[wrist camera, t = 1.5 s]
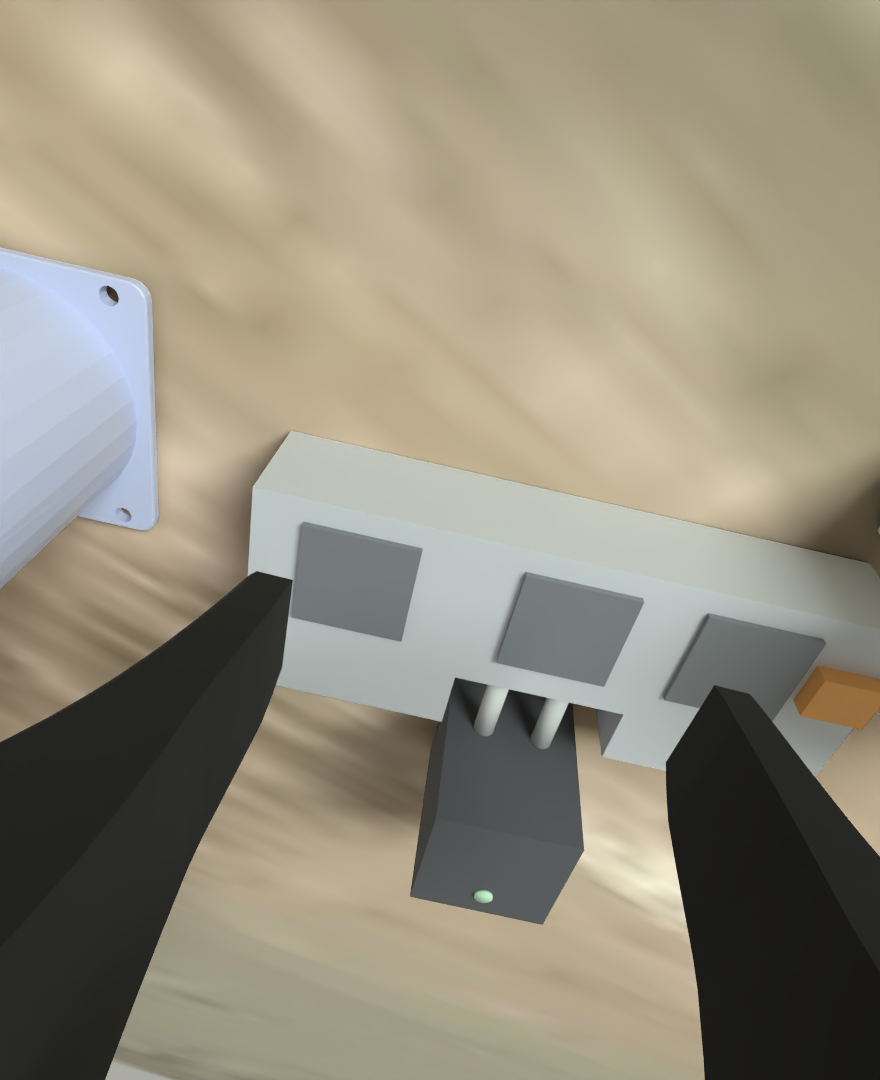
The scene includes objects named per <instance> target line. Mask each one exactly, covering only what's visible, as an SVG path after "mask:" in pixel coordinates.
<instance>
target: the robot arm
mask: <svg viewBox="0 0 880 1080" xmlns="http://www.w3.org/2000/svg"><path fill="white" fill-rule="evenodd" d="M107 286H110V287H112V288H113V289H114V290H115V291H116V292H117V294H118V297H119V300H118V302H115V301H113V300H112V299H111V298H110V297H109V296H108V294H107ZM122 508H124V509H126V510H128V511H129V512H130V514H131V516H130V515H127V514H125V513H124V512H123V511H122ZM77 516H79V517H83V518H87V519H92V520H96V521H101V522H105V523H110V524H114V525H119V526H123V527H128V528H132V529H136V530H143V531H146V530H149V529H151V528H152V527H153V526H154V525H155V524H156V522H157V521H158V518H159V507H158V475H157V444H156V413H155V381H154V350H153V319H152V299H151V295H150V293H149V291H148V289H147V287H146V286H145V285H143V284H142V283H141V282H140V281H138V280H136V279H133V278H130V277H126V276H121V275H117V274H113V273H108V272H104V271H100V270H96V269H91V268H87V267H83V266H79V265H74V264H70V263H66V262H61V261H57V260H53V259H49V258H44V257H40V256H36V255H32V254H27V253H23V252H19V251H14V250H10V249H6V248H2V247H0V589H1V588H2V587H3V586H4V585H6V584H7V583H8V582H9V581H10V580H11V579H12V578H13V577H14V576H15V575H16V574H17V573H18V572H19V571H20V570H21V569H22V568H23V567H24V566H25V565H26V564H27V563H29V562H30V561H31V560H32V559H33V558H34V557H35V556H36V555H37V554H38V553H39V552H40V551H41V550H42V549H43V548H44V547H45V546H46V545H47V544H48V543H49V542H50V541H52V540H53V539H54V538H55V537H56V536H57V535H58V534H59V533H60V532H61V531H62V530H63V529H64V528H65V527H66V526H67V525H68V524H69V523H70V522H71V521H72V520H73V519H75V518H76V517H77ZM292 583H293V580H291V579H287V578H283V577H279V576H275V575H271V574H267V573H263V572H259V571H256V572H254V573H252V574H250V575H249V576H248V577H247V578H246V579H244V580H243V581H242V582H241V583H240V584H239V585H237V586H236V587H235V588H234V589H233V590H232V591H231V592H229V593H228V594H227V595H226V596H225V597H223V598H222V599H221V600H220V601H219V602H217V603H216V604H215V605H214V606H213V607H211V608H210V609H209V610H208V611H206V612H205V613H204V614H203V615H201V616H200V617H199V618H198V619H196V620H195V621H194V622H192V623H191V624H190V625H188V626H187V627H186V628H184V629H183V630H182V631H180V632H179V633H178V634H177V635H175V636H174V637H173V638H171V639H170V640H169V641H167V642H166V643H165V644H163V645H162V646H161V647H159V648H158V649H156V650H155V651H154V652H152V653H151V654H149V655H148V656H146V657H145V658H143V659H142V660H140V661H139V662H137V663H136V664H134V665H133V666H131V667H130V668H128V669H127V670H126V671H124V672H123V673H121V674H120V675H118V676H117V677H115V678H114V679H112V680H111V681H109V682H107V683H106V684H104V685H103V686H101V687H99V688H98V689H96V690H95V691H93V692H91V693H90V694H88V695H86V696H85V697H83V698H81V699H80V700H78V701H76V702H74V703H73V704H71V705H69V706H67V707H66V708H64V709H62V710H61V711H59V712H57V713H55V714H54V715H52V716H50V717H48V718H46V719H44V720H43V721H41V722H39V723H37V724H35V725H33V726H31V727H29V728H27V729H25V730H23V731H21V732H19V733H17V734H16V735H14V736H12V737H10V738H8V739H6V740H4V741H2V742H0V1080H105V1078H106V1076H107V1073H108V1070H109V1068H110V1065H111V1062H112V1060H113V1057H114V1054H115V1052H116V1049H117V1046H118V1044H119V1041H120V1039H121V1036H122V1033H123V1031H124V1028H125V1025H126V1023H127V1020H128V1017H129V1015H130V1012H131V1010H132V1007H133V1004H134V1002H135V999H136V996H137V994H138V991H139V989H140V986H141V984H142V981H143V979H144V976H145V973H146V971H147V968H148V966H149V963H150V961H151V958H152V956H153V953H154V951H155V948H156V945H157V943H158V940H159V938H160V935H161V933H162V930H163V928H164V925H165V923H166V920H167V918H168V915H169V913H170V910H171V908H172V905H173V903H174V901H175V898H176V896H177V893H178V891H179V888H180V886H181V883H182V881H183V878H184V876H185V873H186V871H187V869H188V866H189V864H190V862H191V860H192V858H193V856H194V853H195V851H196V849H197V847H198V845H199V843H200V841H201V839H202V837H203V835H204V833H205V831H206V829H207V827H208V825H209V823H210V821H211V819H212V817H213V815H214V813H215V812H216V810H217V808H218V806H219V804H220V802H221V800H222V798H223V796H224V794H225V792H226V790H227V788H228V786H229V785H230V783H231V781H232V779H233V777H234V775H235V773H236V771H237V769H238V767H239V765H240V763H241V761H242V759H243V757H244V756H245V754H246V752H247V750H248V748H249V746H250V744H251V742H252V740H253V738H254V736H255V734H256V732H257V730H258V728H259V726H260V724H261V722H262V720H263V717H264V715H265V712H266V709H267V707H268V704H269V702H270V699H271V696H272V694H273V691H274V688H275V686H276V683H277V680H278V678H279V675H280V672H281V669H282V665H283V656H284V648H285V640H286V632H287V624H288V615H289V607H290V599H291V591H292ZM666 789H667V808H668V822H669V828H670V834H671V840H672V846H673V851H674V857H675V863H676V868H677V874H678V879H679V884H680V890H681V895H682V901H683V906H684V911H685V917H686V922H687V928H688V933H689V938H690V944H691V949H692V954H693V960H694V967H695V974H696V981H697V988H698V998H699V1009H700V1021H701V1033H702V1044H703V1056H704V1072H705V1080H880V856H879V855H878V854H877V853H876V852H875V851H874V849H873V848H872V847H871V846H870V845H869V844H868V842H867V841H866V840H865V839H864V838H863V837H862V835H861V834H860V833H859V832H858V830H857V829H856V828H855V827H854V826H853V824H852V823H851V822H850V821H849V820H848V818H847V817H846V816H845V815H844V813H843V812H842V811H841V810H840V808H839V807H838V806H837V805H836V803H835V802H834V801H833V800H832V798H831V797H830V796H829V795H828V793H827V792H826V791H825V789H824V788H823V787H822V786H821V784H820V783H819V782H818V780H817V779H816V778H815V777H814V775H813V774H812V773H811V771H810V770H809V769H808V768H807V766H806V765H805V764H804V762H803V761H802V760H801V758H800V757H799V756H798V754H797V753H796V752H795V751H794V749H793V748H792V747H791V745H790V744H789V743H788V741H787V740H786V739H785V737H784V736H783V735H782V734H781V732H780V731H779V730H778V728H777V727H776V726H775V724H774V723H773V722H772V721H771V719H770V718H769V717H768V715H767V714H766V713H765V712H764V710H763V709H762V708H761V707H760V705H759V704H758V703H757V702H756V701H755V699H754V698H753V697H752V696H751V695H750V694H748V693H744V692H740V691H736V690H732V689H728V688H724V687H720V686H716V685H714V686H713V688H712V690H711V691H710V693H709V694H708V696H707V698H706V699H705V701H704V702H703V704H702V706H701V707H700V709H699V710H698V712H697V713H696V715H695V717H694V718H693V720H692V721H691V723H690V725H689V726H688V728H687V729H686V731H685V733H684V734H683V736H682V737H681V739H680V741H679V742H678V744H677V745H676V747H675V748H674V750H673V752H672V753H671V755H670V756H669V758H668V760H667V761H666Z"/></svg>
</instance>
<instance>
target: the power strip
mask: <svg viewBox="0 0 880 1080" xmlns="http://www.w3.org/2000/svg"><path fill="white" fill-rule="evenodd" d="M256 571H259V572H263V573H267V574H271V575H275V576H279V577H283V578H287V579H291V580H293V583H292V591H291V599H290V607H289V615H288V624H287V632H286V640H285V648H284V656H283V665H282V669H281V672H280V675H279V678H278V680H277V683H276V686H281V687H285V688H290V689H294V690H299V691H304V692H308V693H313V694H317V695H322V696H326V697H331V698H335V699H340V700H345V701H349V702H354V703H358V704H363V705H367V706H372V707H376V708H381V709H386V710H390V711H395V712H399V713H404V714H408V715H413V716H417V717H422V718H427V719H431V720H436V721H440V722H442V719H443V716H444V713H445V709H446V706H447V703H448V699H449V696H450V693H451V689H452V686H453V683H454V679H455V677H456V678H460V679H465V680H469V681H474V682H478V683H483V684H487V685H492V686H496V687H501V688H505V689H510V690H514V691H519V692H523V693H528V694H533V695H537V696H542V697H546V698H551V699H555V700H560V701H564V702H569V703H573V704H578V705H582V706H587V707H591V708H596V711H597V720H598V729H599V737H600V746H601V754H602V757H604V758H609V759H613V760H618V761H622V762H627V763H631V764H636V765H641V766H645V767H650V768H654V769H659V770H663V771H666V761H667V760H668V758H669V756H670V755H671V753H672V752H673V750H674V748H675V747H676V745H677V744H678V742H679V741H680V739H681V737H682V736H683V734H684V733H685V731H686V729H687V728H688V726H689V725H690V723H691V721H692V720H693V718H694V717H695V715H696V713H697V712H698V710H699V709H700V707H701V706H702V704H703V702H704V701H705V699H706V698H707V696H708V694H709V693H710V691H711V690H712V688H713V686H714V685H716V686H720V687H724V688H728V689H732V690H736V691H740V692H744V693H748V694H750V695H751V696H752V697H753V698H754V699H755V701H756V702H757V703H758V704H759V705H760V707H761V708H762V709H763V710H764V712H765V713H766V714H767V715H768V717H769V718H770V719H771V721H772V722H773V723H774V724H775V726H776V727H777V728H778V730H779V731H780V732H781V734H782V735H783V736H784V737H785V739H786V740H787V741H788V743H789V744H790V745H791V747H792V748H793V749H794V751H795V752H796V753H797V754H798V756H799V757H800V758H801V760H802V761H803V762H804V764H805V765H806V766H807V768H808V769H809V770H810V771H811V773H812V774H813V775H814V777H815V776H816V774H817V773H818V772H819V771H820V769H821V768H822V767H823V766H824V764H825V763H826V762H827V761H828V759H829V758H830V757H831V756H832V754H833V753H834V752H835V751H836V749H837V748H838V747H839V746H840V744H841V743H842V742H843V741H844V739H845V738H846V737H847V736H848V735H849V733H850V732H851V731H852V730H853V728H857V729H861V730H862V729H863V728H864V727H865V725H866V724H867V723H868V722H869V721H870V719H871V718H872V717H873V716H874V714H875V713H876V712H877V711H878V709H879V708H880V577H879V576H878V575H877V573H876V572H875V571H874V569H873V568H872V566H871V565H870V564H869V563H865V562H861V561H857V560H852V559H848V558H844V557H839V556H835V555H831V554H826V553H822V552H818V551H813V550H809V549H805V548H800V547H796V546H791V545H787V544H783V543H778V542H774V541H770V540H765V539H761V538H757V537H752V536H748V535H744V534H739V533H735V532H730V531H726V530H722V529H717V528H713V527H709V526H704V525H700V524H696V523H691V522H687V521H683V520H678V519H674V518H669V517H665V516H661V515H656V514H652V513H648V512H643V511H639V510H635V509H630V508H626V507H622V506H617V505H613V504H609V503H604V502H600V501H595V500H591V499H587V498H582V497H578V496H574V495H569V494H565V493H561V492H556V491H552V490H548V489H543V488H539V487H534V486H530V485H526V484H521V483H517V482H513V481H508V480H504V479H500V478H495V477H491V476H487V475H482V474H478V473H473V472H469V471H465V470H460V469H456V468H452V467H447V466H443V465H439V464H434V463H430V462H426V461H421V460H417V459H413V458H408V457H404V456H399V455H395V454H391V453H386V452H382V451H378V450H373V449H369V448H365V447H360V446H356V445H352V444H347V443H343V442H338V441H334V440H330V439H325V438H321V437H317V436H312V435H308V434H304V433H299V432H295V431H290V433H289V434H288V436H287V437H286V439H285V440H284V442H283V443H282V445H281V446H280V448H279V449H278V451H277V452H276V453H275V455H274V456H273V458H272V459H271V461H270V462H269V464H268V465H267V467H266V468H265V470H264V471H263V473H262V474H261V476H260V477H259V478H258V480H257V481H256V483H255V484H254V486H253V491H252V509H251V526H250V544H249V561H248V576H249V575H250V574H252V573H254V572H256Z"/></svg>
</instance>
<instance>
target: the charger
mask: <svg viewBox="0 0 880 1080" xmlns="http://www.w3.org/2000/svg"><path fill="white" fill-rule="evenodd" d="M583 851H584V844H583V832H582V819H581V806H580V794H579V781H578V768H577V756H576V743H575V731H574V718H573V705H572V703H569V702H564V701H560V700H555V699H551V698H546V697H542V696H537V695H533V694H528V693H523V692H519V691H514V690H510V689H505V688H501V687H496V686H492V685H487V684H483V683H478V682H474V681H469V680H465V679H460V678H456V677H455V679H454V683H453V686H452V689H451V693H450V696H449V699H448V703H447V706H446V709H445V713H444V716H443V719H442V722H440V721H439V724H438V728H437V731H436V735H435V738H434V741H433V745H432V748H431V751H430V758H429V766H428V773H427V780H426V787H425V794H424V801H423V808H422V815H421V822H420V830H419V837H418V844H417V851H416V858H415V865H414V872H413V879H412V886H411V893H410V897H415V898H419V899H424V900H429V901H433V902H438V903H443V904H447V905H452V906H457V907H462V908H466V909H471V910H476V911H480V912H485V913H490V914H495V915H499V916H504V917H509V918H513V919H518V920H523V921H527V922H532V923H537V924H542V925H543V923H544V921H545V919H546V917H547V916H548V914H549V912H550V910H551V908H552V907H553V905H554V903H555V901H556V899H557V898H558V896H559V894H560V892H561V890H562V889H563V887H564V885H565V883H566V882H567V880H568V878H569V876H570V874H571V873H572V871H573V869H574V867H575V865H576V864H577V862H578V860H579V858H580V856H581V855H582V853H583Z"/></svg>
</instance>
